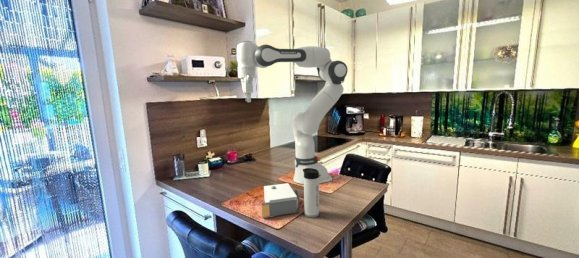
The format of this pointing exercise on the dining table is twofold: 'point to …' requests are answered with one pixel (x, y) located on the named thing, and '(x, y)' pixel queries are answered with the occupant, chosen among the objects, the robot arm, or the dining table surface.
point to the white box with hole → (279, 192)
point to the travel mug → (311, 192)
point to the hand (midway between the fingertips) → (248, 101)
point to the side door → (279, 207)
